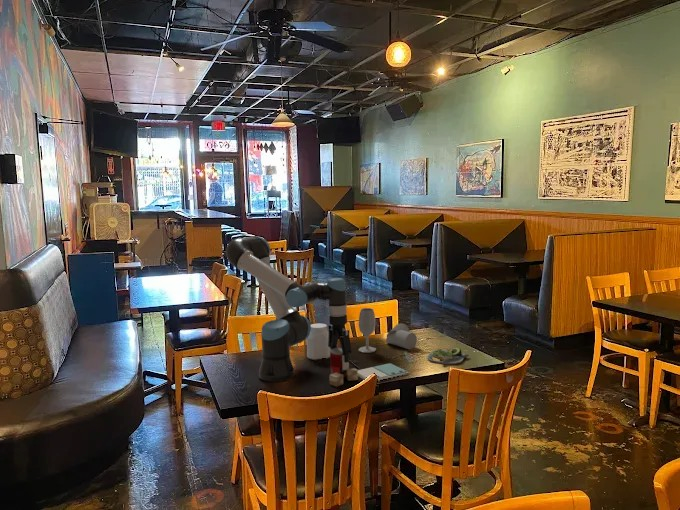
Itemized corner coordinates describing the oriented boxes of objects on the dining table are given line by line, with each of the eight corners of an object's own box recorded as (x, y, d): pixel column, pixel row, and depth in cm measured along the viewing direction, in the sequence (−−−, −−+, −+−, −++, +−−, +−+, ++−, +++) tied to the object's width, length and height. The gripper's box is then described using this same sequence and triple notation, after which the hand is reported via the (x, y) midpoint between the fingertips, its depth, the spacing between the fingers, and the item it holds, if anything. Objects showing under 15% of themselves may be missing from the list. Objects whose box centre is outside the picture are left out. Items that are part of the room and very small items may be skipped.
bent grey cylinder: (374, 340, 265) (402, 349, 250) (377, 320, 265) (405, 328, 250) (397, 341, 276) (425, 350, 261) (400, 322, 277) (428, 329, 261)
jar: (308, 360, 239) (308, 329, 237) (305, 353, 248) (304, 324, 246) (332, 357, 242) (332, 327, 240) (328, 351, 251) (327, 322, 249)
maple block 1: (336, 386, 206) (336, 377, 205) (329, 384, 209) (329, 374, 208) (343, 384, 209) (343, 374, 208) (336, 381, 211) (336, 372, 211)
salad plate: (460, 369, 224) (460, 359, 224) (421, 364, 232) (421, 354, 232) (470, 357, 241) (470, 347, 241) (433, 352, 250) (433, 343, 249)
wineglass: (379, 349, 253) (379, 308, 251) (370, 354, 246) (370, 312, 243) (364, 347, 258) (363, 306, 255) (355, 351, 251) (354, 310, 248)
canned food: (342, 379, 213) (342, 354, 212) (327, 376, 217) (326, 351, 216) (352, 374, 220) (351, 349, 218) (336, 370, 224) (336, 346, 222)
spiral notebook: (370, 383, 209) (370, 380, 208) (352, 373, 221) (352, 370, 220) (408, 374, 219) (408, 371, 218) (389, 364, 231) (389, 362, 230)
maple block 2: (348, 380, 211) (348, 371, 211) (346, 378, 215) (346, 369, 215) (357, 379, 212) (357, 370, 212) (355, 377, 216) (355, 368, 216)
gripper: (358, 317, 209) (361, 371, 211) (333, 309, 227) (335, 359, 229) (343, 320, 205) (345, 374, 207) (318, 312, 223) (321, 362, 225)
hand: (340, 366), depth 218 cm, fingers open, 8 cm apart
